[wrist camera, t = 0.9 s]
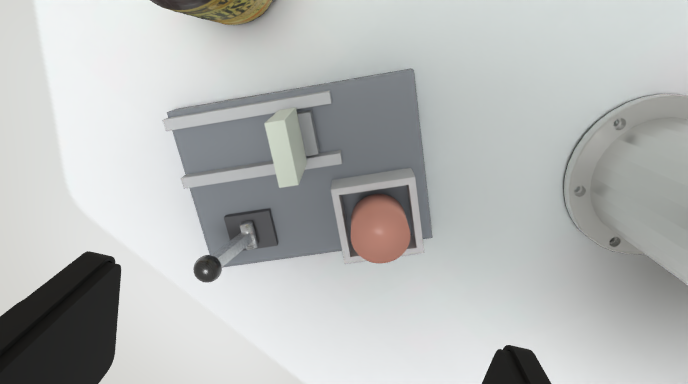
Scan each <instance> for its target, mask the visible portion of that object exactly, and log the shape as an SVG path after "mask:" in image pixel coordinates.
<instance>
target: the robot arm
mask: <svg viewBox="0 0 688 384" xmlns="http://www.w3.org/2000/svg"><path fill="white" fill-rule="evenodd" d="M615 121H616V122H615ZM614 122H615V124H614ZM613 124H614V125H613ZM576 187H577V189H576V190H575V188H576ZM564 196H565V202H566V207H567V209H568V212H569V214H570V217H571V219H572V220H573V222H574V223H575V224H576V226H577V227H578V229H579V230H580V231H582V232H583V233H584V234H585V235H586V236H587V237H588V238H589V239H591V240H592V241H594V242H595V243H596V244H598V245H599V246H601V247H604V248H606V249H608V250H611V251H615V252H619V253H624V254H646V255H647V256H648V257H650V258H651V259H652V260H654V261H655V262H656V263H658V264H659V265H661V266H662V267H663V268H665V269H666V270H667V271H669V272H670V273H671V274H673V275H674V276H676V277H677V278H678V279H680V280H681V281H682V282H684V283H685V284H686V285H688V96H684V95H678V94H658V95H652V96H646V97H642V98H639V99H636V100H633V101H630V102H627V103H625V104H623V105H622V106H620V107H618V108H616V109H614V110H612V111H611V112H609V113H608V114H607V115H605V116H604V117H603V118H601V119H600V120H599V121H597V122H596V123H595V124H594V125H593V127H592V128H591V129H590V130H589V131H588V132H587V133H586V134H585V135H584V136H583V138H582V139H581V141H580V142H579V144H578V145H577V147H576V148H575V150H574V152H573V154H572V157H571V159H570V161H569V163H568V167H567V171H566V175H565V181H564ZM120 278H121V266H120V265H119V264H115V259H114V258H113V257H112V256H107V255H103V254H99V253H94V252H85V253H83V254H82V255H81V256H80V257H78V258H77V259H76V260H75V261H73V262H72V263H71V264H69V265H68V266H67V267H66V268H64V269H63V270H62V271H60V272H59V273H58V274H56V275H55V276H54V277H53V278H51V279H50V280H49V281H48V282H46V283H45V284H44V285H42V286H41V287H40V288H38V289H37V290H36V291H35V292H33V293H32V294H31V295H29V296H28V297H27V298H26V299H24V300H22V301H21V302H19V303H17V304H16V305H15V306H13V307H12V308H11V309H9V310H8V311H7V312H6V313H4V314H3V315H2V316H0V384H98V383H99V382H100V381H101V379H102V378H103V377H104V375H105V374H106V373H107V371H108V370H109V368H110V366H111V365H112V362H113V359H114V355H115V344H116V331H117V318H118V317H117V316H118V305H119V291H120ZM482 384H551V382H550V381H549V379H548V377H547V375H546V374H545V372H544V370H543V368H542V367H541V365H540V363H539V361H538V360H537V358H536V356H535V354H534V353H533V352H532V351H531V350H529V349H524V348H520V347H515V346H511V345H506V346H505V347H504V348H503V350H501V349H499V350H497V351H496V353H495V355H494V357H493V359H492V362H491V364H490V366H489V369H488V371H487V373H486V375H485V378H484V380H483V382H482Z"/></svg>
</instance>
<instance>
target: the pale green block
mask: <svg viewBox="0 0 688 384" xmlns="http://www.w3.org/2000/svg"><path fill="white" fill-rule="evenodd" d="M264 124H265V128H266V133H267V137H268V141H269V146H270V150H271V154H272V159H273V163H274V168H275V172H276V176H277V181H278V185H279V188H283V187H289V186H295V185H299V183H300V180H301V177H302V175H303V172H304V170H305V167H306V165H307V160H306V156H311V155H317V154H318V153H319V145H318V140H317V134H316V129H315V124H314V119H313V114H312V110H307V111H302V112H297V111H296V107H295V108H289V109H283V110H278V111H277V112H276V113H275V114H274V115H273V116H272V117H270V118H269V119H268V120H267V121H266V122H265V123H264Z"/></svg>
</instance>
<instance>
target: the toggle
mask: <svg viewBox="0 0 688 384" xmlns="http://www.w3.org/2000/svg"><path fill="white" fill-rule="evenodd" d="M239 226H240V230H241V233H240V234H238V235H237V236H236V237H234V238H233V239H232V240H231V241H229V242H228V243H227V244H225V245H224V246H223V247H222V248H220V249H219V250H218V251H217V252H215V253H214V254H213V255H205V256H202V257H200V258H199V259H198V260H197V261H196V263H195V265H194V274H195V276H196V278H197V279H199V280H200V281H202V282H212V281H214V280H216V279H217V278H218V277H219V276H220V274H221V271H222V267H223V266H224V265H226V264H227V263H228V262H229V261H230V260H231V259H233V258H234V257H235V256H236V255H237V254H239V253H240V252H241V251H242V250H243V249H244V248H246V249H247V250H252V249H255V248H257V247H258V242H257V238H256V234H255V230H254V226H253V222H252V221H244V222H242V223H240V224H239Z"/></svg>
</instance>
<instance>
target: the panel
mask: <svg viewBox="0 0 688 384" xmlns="http://www.w3.org/2000/svg"><path fill="white" fill-rule="evenodd" d="M295 107H296V111H297V112H302V111H307V110H312V114H313V119H314V124H315V129H316V134H317V140H318V145H319V153H318V154H317V155H311V156H306V160H307V165H306V167H305V170H304V172H303V175H302V177H301V180H300V183H299V185H295V186H289V187H283V188H279V185H278V181H277V176H276V172H275V168H274V163H273V159H272V154H271V150H270V146H269V141H268V137H267V133H266V128H265V124H264V123H265V122H266V121H267V120H268V119H269V118H270V117H272V116H273V115H274V114H275V113H276V112H277V111H278V110H283V109H289V108H295ZM167 114H168V118H167V119H164V120H163V123H164V126H165V129H166V131H171V130H172V131H173V134H174V138H175V141H176V144H177V148H178V151H179V154H180V157H181V161H182V164H183V167H184V171H185V174H186V175H185V176H183V177H182V178H181V181H182V184H183V188H184V189H185V188H190V191H191V194H192V197H193V200H194V204H195V207H196V210H197V214H198V217H199V220H200V224H201V227H202V230H203V234H204V237H205V240H206V243H207V247H208V250H209V253H210V255H213V254H214V253H215V252H217V251H218V250H219V249H220V248H222V247H223V246H224V245H225V244H227V243H228V242H229V241H231V240H232V239H233V238H234V237H236V236H237V235H238V234H240V233H241V230H240V226H239V224H240V223H242V222H244V221H252V222H253V226H254V230H255V234H256V238H257V242H258V247H257V248H255V249H252V250H247V249H246V248H244V249H243V250H242V251H241V252H240V253H239V254H237V255H236V256H235V257H234V258H233V259H231V260H230V261H229V262H228V263H227V264H226V265H224V266H223V267H229V266H236V265H243V264H250V263H257V262H264V261H271V260H278V259H285V258H292V257H299V256H307V255H314V254H321V253H328V252H335V251H342V252H343V257H344V262H345V264H348V263H355V262H363V261H367V260H365V259H363V258H362V257H361V256H359V255H358V254H357V252H356V251H355V250H354V248H353V245H352V242H351V216H352V212H353V209H354V207H355V206H356V204H357V203H358V202H359V201H360V200H362V199H363V198H365V197H367V196H369V195H373V194H385V195H388V196H391V197H393V198H394V199H396V200H397V201H398V202H399V203H400V204H401V206H402V207H403V209H404V212H405V215H406V219H407V222H408V226H409V229H410V242H409V245H408V247H407V249H406V251H405V252H404V253H403V254H402V255H401V256H406V255H413V254H420V253H424V246H423V239H427V238H432V229H431V220H430V211H429V202H428V193H427V184H426V175H425V166H424V158H423V149H422V140H421V131H420V122H419V113H418V104H417V95H416V86H415V77H414V70H413V69H406V70H401V71H395V72H389V73H383V74H377V75H371V76H366V77H360V78H354V79H348V80H342V81H337V82H331V83H325V84H319V85H313V86H308V87H302V88H296V89H290V90H284V91H279V92H273V93H267V94H261V95H255V96H250V97H244V98H238V99H232V100H226V101H221V102H215V103H209V104H203V105H197V106H192V107H186V108H180V109H175V110H172V111H169V112H167Z"/></svg>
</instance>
